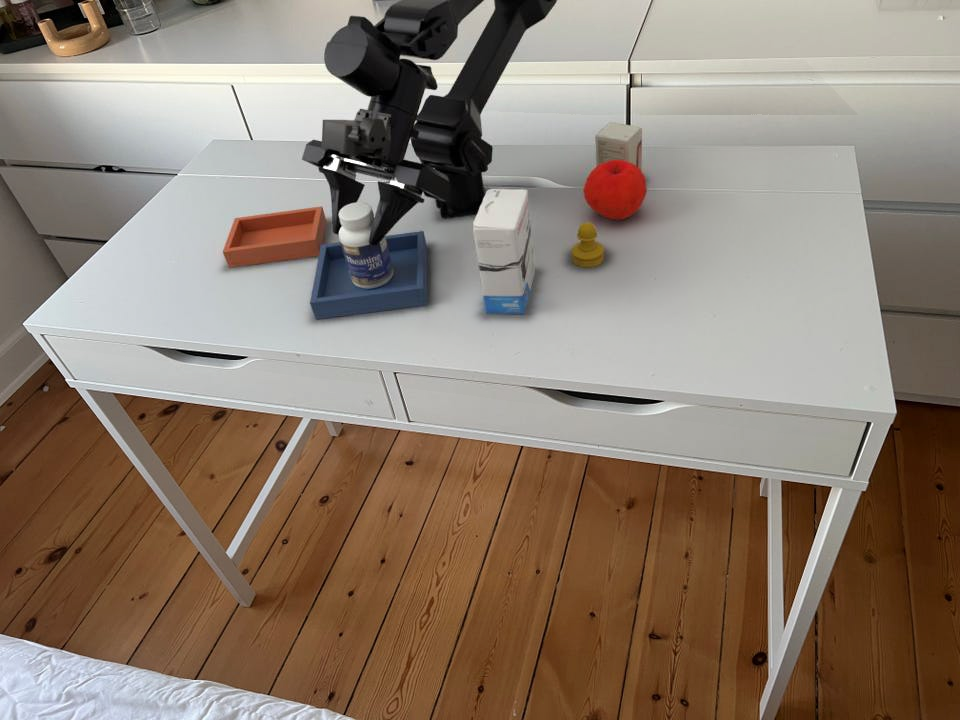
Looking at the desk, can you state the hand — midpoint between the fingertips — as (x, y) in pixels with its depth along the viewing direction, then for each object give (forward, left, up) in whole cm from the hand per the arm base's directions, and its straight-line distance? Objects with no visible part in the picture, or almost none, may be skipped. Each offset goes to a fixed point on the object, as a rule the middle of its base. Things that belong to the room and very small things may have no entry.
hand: (354, 239), depth 92 cm
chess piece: (-28, 0, -7) cm, 29 cm away
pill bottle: (-1, -1, -7) cm, 7 cm away
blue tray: (-1, -1, -7) cm, 7 cm away
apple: (-33, -9, -7) cm, 35 cm away
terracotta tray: (+13, -13, -7) cm, 20 cm away
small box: (-35, -17, -7) cm, 39 cm away
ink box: (-18, +5, -7) cm, 20 cm away
